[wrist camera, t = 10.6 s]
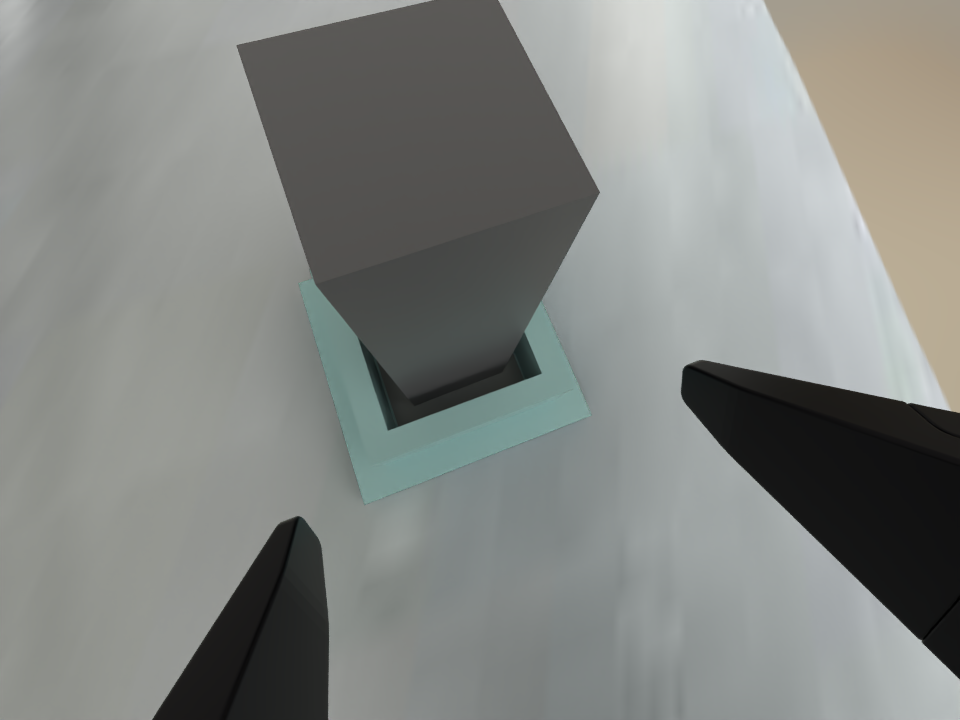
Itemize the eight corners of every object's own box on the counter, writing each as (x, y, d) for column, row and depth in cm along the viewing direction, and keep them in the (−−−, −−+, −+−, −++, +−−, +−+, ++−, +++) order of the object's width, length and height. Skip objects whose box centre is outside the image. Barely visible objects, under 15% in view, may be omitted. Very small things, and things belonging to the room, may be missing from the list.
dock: (585, 417, 19) (617, 407, 16) (369, 502, 18) (345, 515, 14) (503, 230, 22) (513, 180, 18) (305, 291, 20) (270, 251, 16)
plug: (502, 372, 19) (600, 192, 6) (414, 406, 18) (315, 284, 5) (468, 291, 19) (491, -13, 7) (383, 321, 19) (236, 45, 6)
